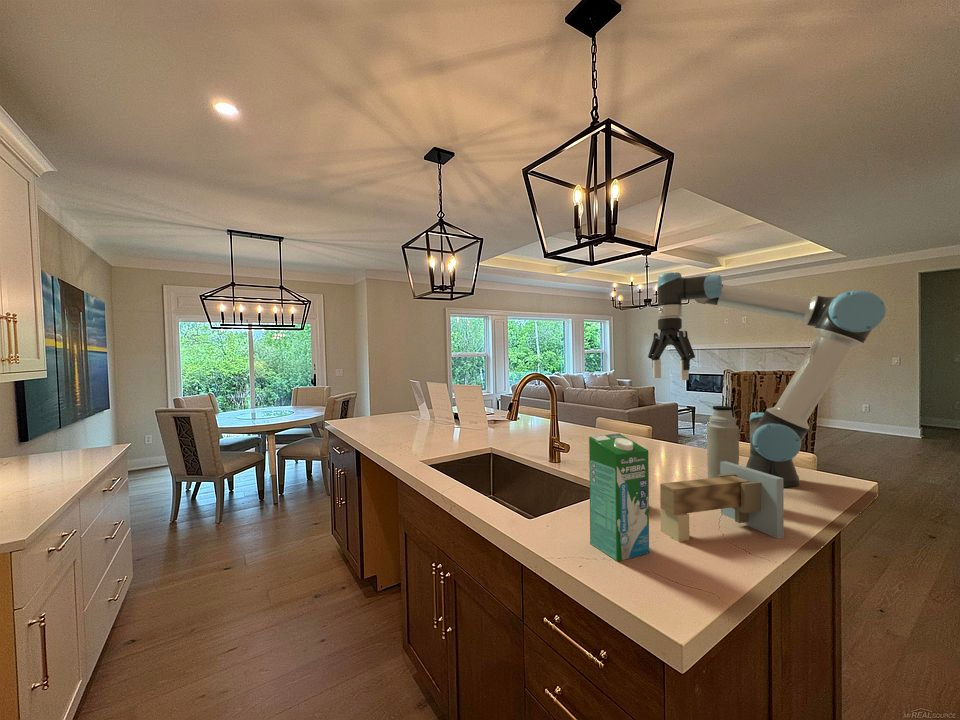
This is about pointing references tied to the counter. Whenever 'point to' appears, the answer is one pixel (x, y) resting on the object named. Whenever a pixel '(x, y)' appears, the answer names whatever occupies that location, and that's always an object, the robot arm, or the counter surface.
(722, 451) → the thermos bottle
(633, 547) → the milk carton
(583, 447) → the counter surface
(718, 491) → the brown wooden block
